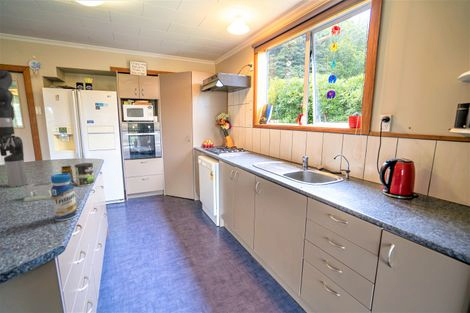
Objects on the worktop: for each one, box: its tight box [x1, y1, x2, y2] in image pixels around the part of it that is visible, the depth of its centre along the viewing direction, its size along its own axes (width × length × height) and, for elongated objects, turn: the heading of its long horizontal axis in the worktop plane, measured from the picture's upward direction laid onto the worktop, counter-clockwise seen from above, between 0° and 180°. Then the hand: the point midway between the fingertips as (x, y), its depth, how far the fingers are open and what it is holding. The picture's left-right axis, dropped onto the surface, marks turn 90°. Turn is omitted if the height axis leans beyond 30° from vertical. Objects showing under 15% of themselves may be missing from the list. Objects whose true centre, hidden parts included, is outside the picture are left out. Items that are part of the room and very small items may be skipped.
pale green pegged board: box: [23, 190, 52, 203], centre depth 124 cm, size 14×11×4 cm
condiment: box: [61, 165, 74, 184], centre depth 153 cm, size 7×8×12 cm
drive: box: [26, 182, 54, 197], centre depth 123 cm, size 12×5×6 cm, turn 110°
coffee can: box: [74, 162, 95, 187], centre depth 148 cm, size 10×10×14 cm
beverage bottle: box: [50, 173, 78, 222], centre depth 96 cm, size 8×8×20 cm
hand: (8, 154), depth 122 cm, fingers open, 8 cm apart
